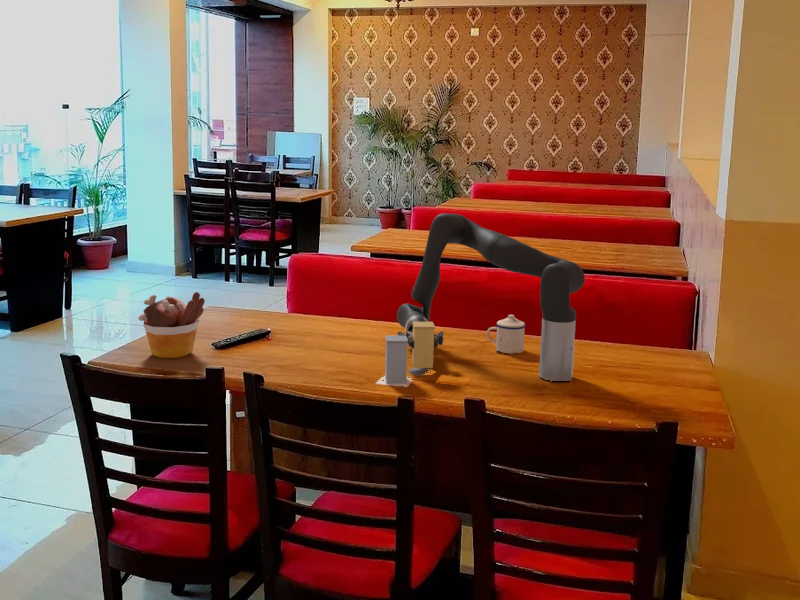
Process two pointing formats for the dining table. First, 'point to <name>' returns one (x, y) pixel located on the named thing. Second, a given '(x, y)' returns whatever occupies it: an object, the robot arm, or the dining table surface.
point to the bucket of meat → (171, 325)
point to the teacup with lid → (509, 335)
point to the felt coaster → (419, 371)
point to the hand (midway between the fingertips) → (424, 344)
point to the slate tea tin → (396, 359)
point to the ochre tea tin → (423, 344)
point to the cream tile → (394, 384)
